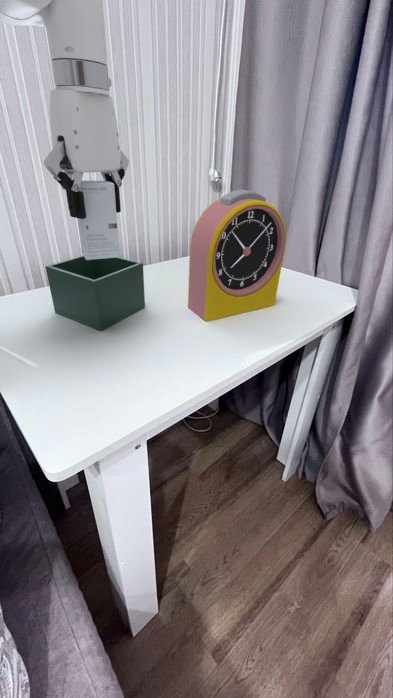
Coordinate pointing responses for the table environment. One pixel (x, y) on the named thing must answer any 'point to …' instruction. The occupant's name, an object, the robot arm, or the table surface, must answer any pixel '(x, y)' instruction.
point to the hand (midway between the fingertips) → (96, 213)
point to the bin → (97, 289)
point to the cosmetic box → (99, 221)
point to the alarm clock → (235, 256)
